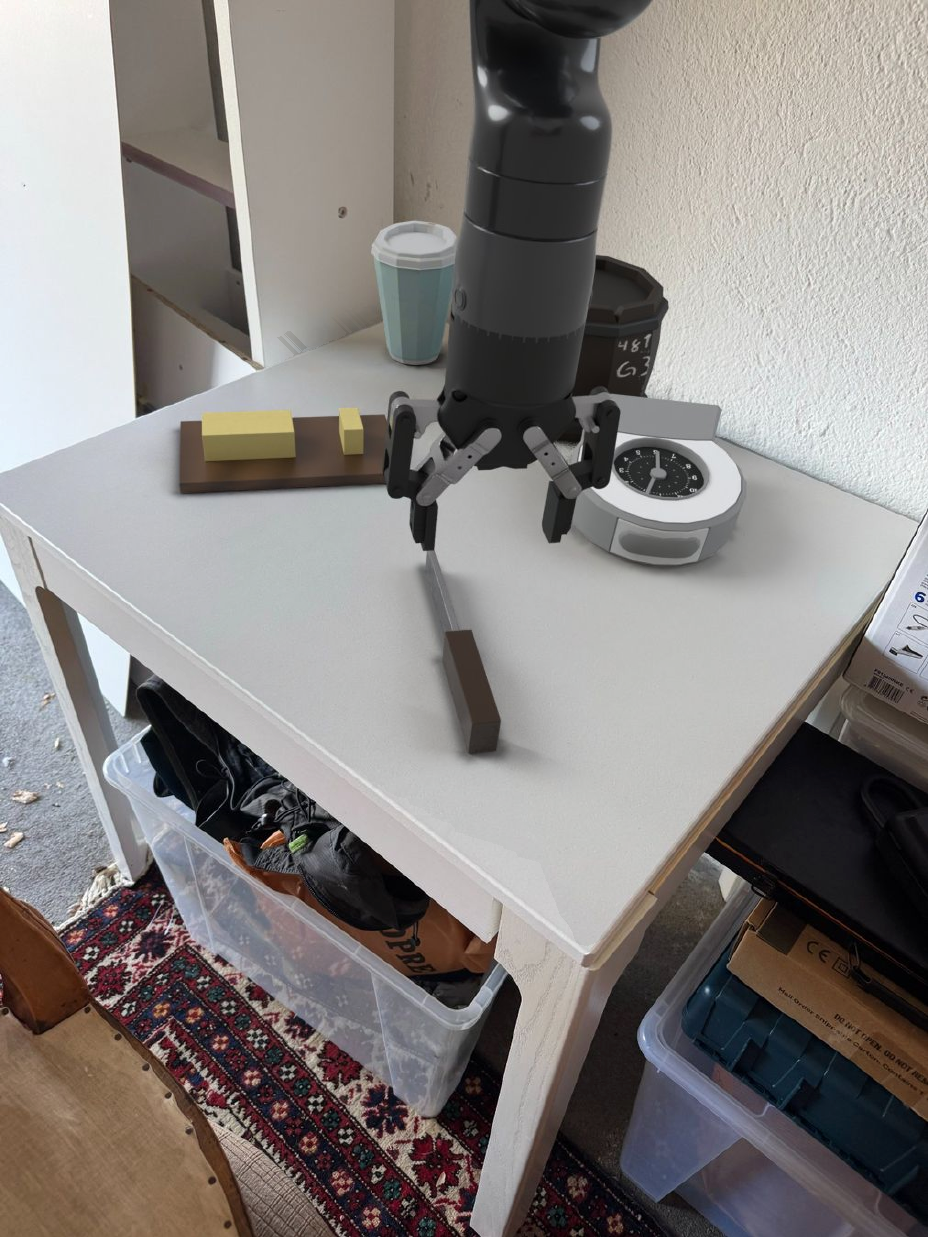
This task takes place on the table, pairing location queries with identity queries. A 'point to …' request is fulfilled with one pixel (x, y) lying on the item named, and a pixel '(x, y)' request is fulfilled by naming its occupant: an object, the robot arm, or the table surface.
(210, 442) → the butter stick
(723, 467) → the alarm clock
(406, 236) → the disposable coffee cup
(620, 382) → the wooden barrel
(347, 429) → the butter pat
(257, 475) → the board
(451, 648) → the knife
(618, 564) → the table surface
